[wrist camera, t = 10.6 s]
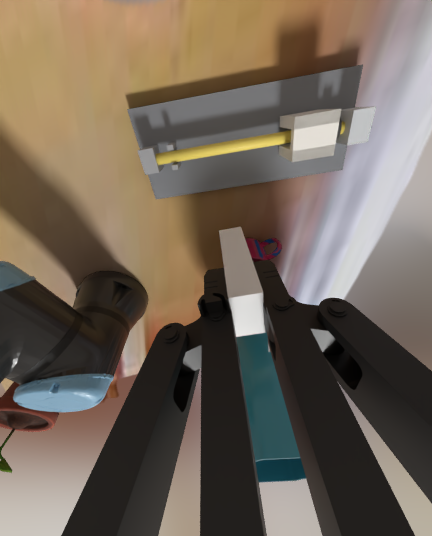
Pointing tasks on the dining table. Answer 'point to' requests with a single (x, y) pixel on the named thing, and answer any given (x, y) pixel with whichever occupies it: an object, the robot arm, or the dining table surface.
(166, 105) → the linear slide mechanism
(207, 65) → the dining table surface
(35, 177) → the dining table surface
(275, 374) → the vase
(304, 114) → the sleeve
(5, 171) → the dining table surface
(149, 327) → the dining table surface
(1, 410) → the potted plant
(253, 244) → the mug
